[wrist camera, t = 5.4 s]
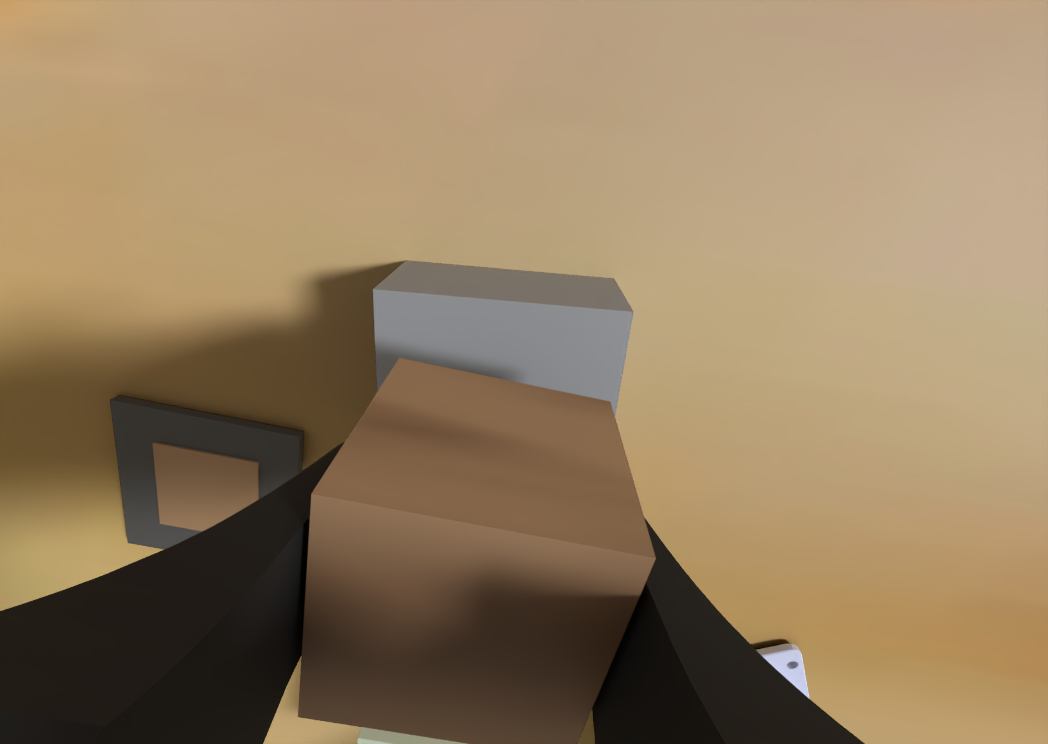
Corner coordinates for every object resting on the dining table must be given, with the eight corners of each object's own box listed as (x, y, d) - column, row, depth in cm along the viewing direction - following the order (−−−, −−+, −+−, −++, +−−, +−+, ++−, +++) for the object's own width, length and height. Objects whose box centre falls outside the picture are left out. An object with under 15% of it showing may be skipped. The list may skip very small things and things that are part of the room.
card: (297, 565, 23) (292, 574, 22) (134, 536, 22) (126, 544, 22) (303, 431, 20) (298, 438, 19) (118, 395, 19) (107, 401, 19)
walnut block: (559, 559, 14) (569, 759, 9) (377, 526, 14) (298, 716, 9) (610, 401, 12) (655, 558, 7) (399, 358, 12) (310, 493, 7)
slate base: (586, 451, 20) (596, 518, 17) (409, 436, 20) (381, 501, 16) (613, 277, 17) (633, 311, 14) (407, 259, 17) (373, 289, 14)
